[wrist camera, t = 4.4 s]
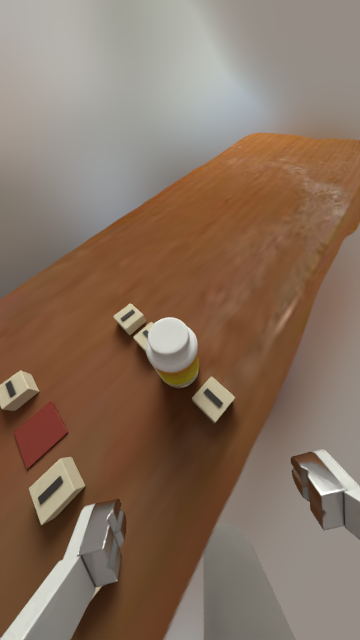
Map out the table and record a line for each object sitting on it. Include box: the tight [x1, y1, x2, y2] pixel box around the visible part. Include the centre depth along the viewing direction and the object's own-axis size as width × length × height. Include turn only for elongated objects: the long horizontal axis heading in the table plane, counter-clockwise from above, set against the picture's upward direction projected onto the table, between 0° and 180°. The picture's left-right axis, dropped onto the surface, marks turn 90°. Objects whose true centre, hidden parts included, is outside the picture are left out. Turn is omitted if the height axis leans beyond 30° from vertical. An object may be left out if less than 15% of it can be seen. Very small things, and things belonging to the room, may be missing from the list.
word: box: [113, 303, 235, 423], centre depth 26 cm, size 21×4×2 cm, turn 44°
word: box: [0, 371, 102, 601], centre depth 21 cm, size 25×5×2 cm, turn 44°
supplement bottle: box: [146, 318, 199, 388], centre depth 22 cm, size 6×6×10 cm
